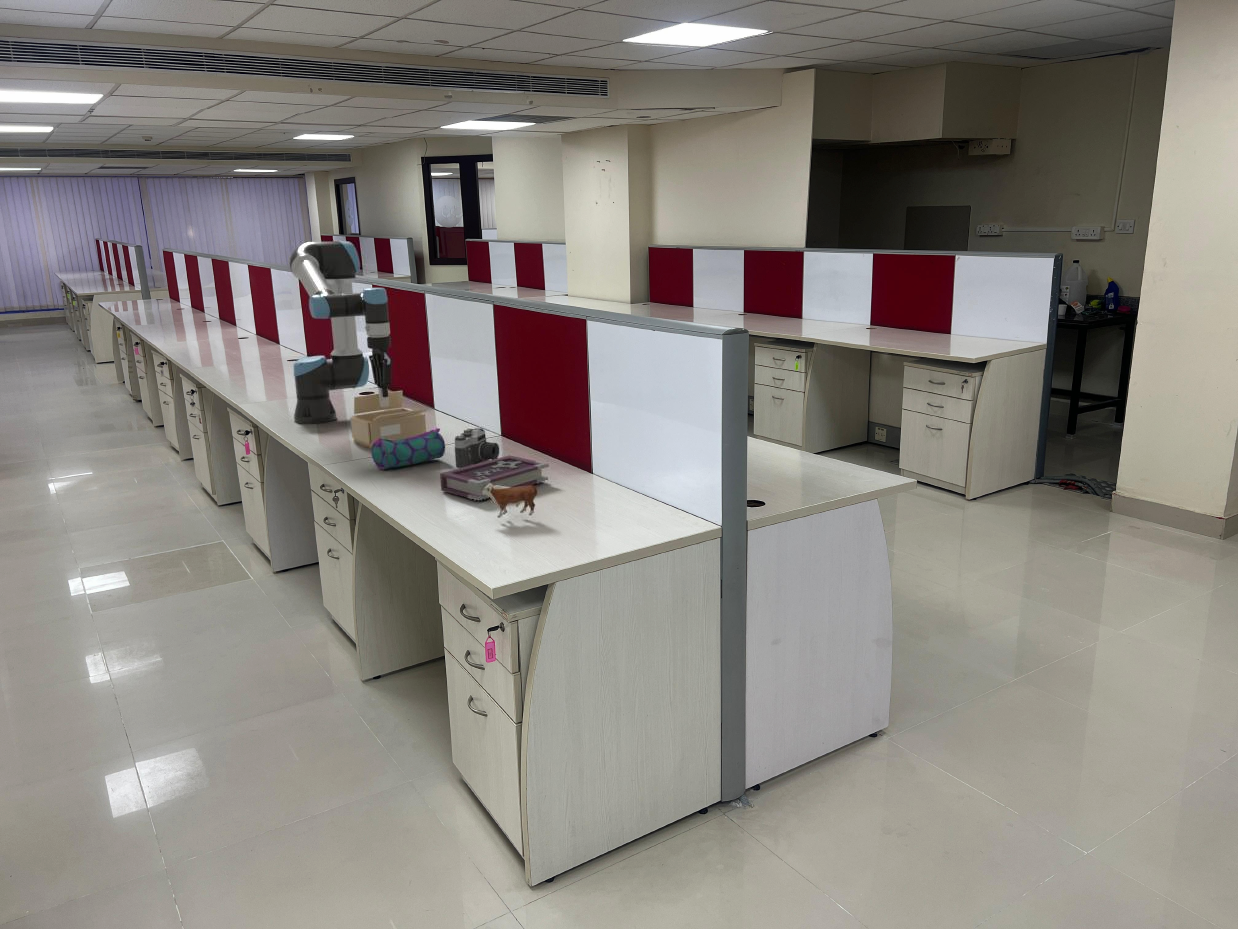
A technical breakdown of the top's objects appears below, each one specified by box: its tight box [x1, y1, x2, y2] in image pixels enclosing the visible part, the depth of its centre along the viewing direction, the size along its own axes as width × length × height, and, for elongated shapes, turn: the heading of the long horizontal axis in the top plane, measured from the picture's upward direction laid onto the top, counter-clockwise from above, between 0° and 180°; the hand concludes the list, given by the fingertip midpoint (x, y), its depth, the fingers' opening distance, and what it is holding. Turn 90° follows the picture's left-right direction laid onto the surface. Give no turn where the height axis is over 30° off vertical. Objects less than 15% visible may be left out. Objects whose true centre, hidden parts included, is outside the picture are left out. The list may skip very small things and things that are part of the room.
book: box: [439, 454, 549, 502], centre depth 245 cm, size 25×16×5 cm, turn 139°
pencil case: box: [370, 427, 446, 470], centre depth 268 cm, size 21×9×10 cm, turn 131°
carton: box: [350, 407, 427, 450], centre depth 297 cm, size 15×21×9 cm
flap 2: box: [373, 407, 430, 421], centre depth 288 cm, size 1×17×6 cm
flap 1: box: [353, 390, 403, 415], centre depth 300 cm, size 1×17×6 cm, turn 129°
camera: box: [454, 427, 500, 469], centre depth 268 cm, size 16×10×10 cm, turn 163°
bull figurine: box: [482, 483, 538, 519], centre depth 217 cm, size 4×13×8 cm, turn 95°
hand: (384, 406), depth 297 cm, fingers closed
